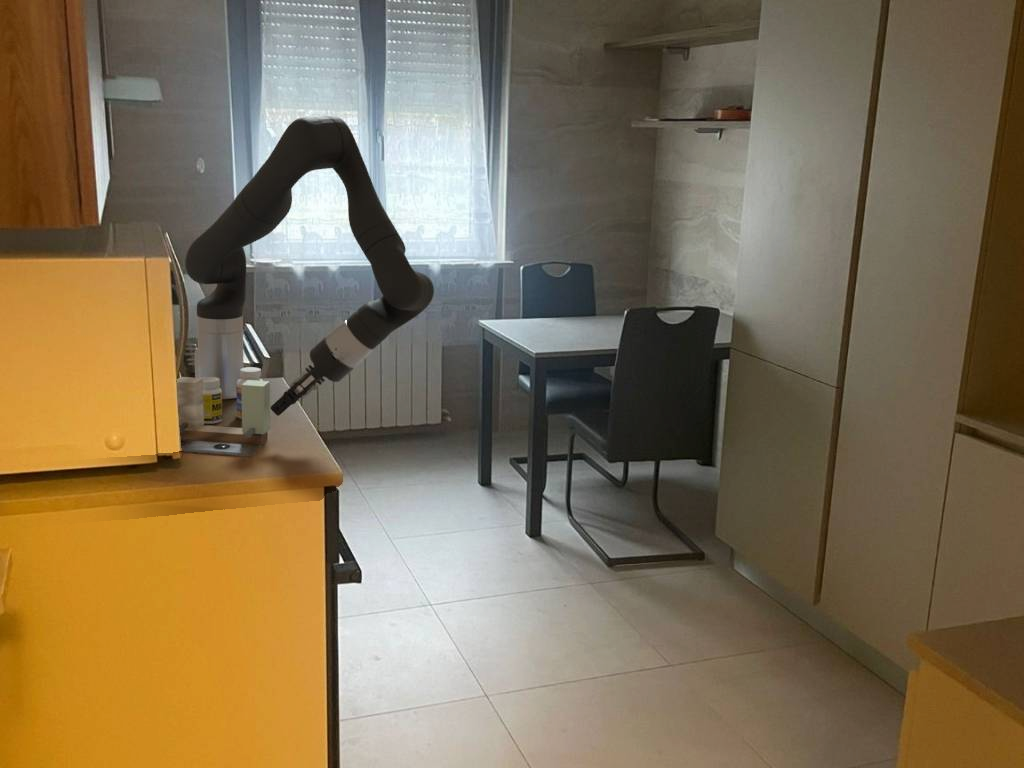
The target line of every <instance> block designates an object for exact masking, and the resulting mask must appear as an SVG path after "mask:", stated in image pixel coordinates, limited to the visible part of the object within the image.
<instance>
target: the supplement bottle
mask: <svg viewBox="0 0 1024 768" xmlns="http://www.w3.org/2000/svg"><path fill="white" fill-rule="evenodd" d="M219 386H220V379H219V378H216V377H203V410H204V425H205V424H206V425H213V424H218V423H221V422H222V421H223V399H222V390H221V388H219Z"/></svg>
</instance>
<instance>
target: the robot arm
mask: <svg viewBox="0 0 1024 768" xmlns="http://www.w3.org/2000/svg"><path fill="white" fill-rule="evenodd" d="M365 163H366V162H365V160H364V159H363V155H362V154H361V151H360V148H359V147H358V143H357V142H356V139H355V136H354V134H353V132H352V130H351V129H350V127H349V125H348V124H347V123H346V121H344V120H343V118H341V117H338V116H337V115H336V116H335V115H312V116H311V115H310V116H302V117H299V118H296V119H295V120H294V121H292V122H291V123H290V124H289V125H288V126H287V127H286V129H285V131H283V134H282V135H281V136H280V138H279V140H278V141H277V144H276V145H275V146H274V148H273V150H272V152H270V154H269V156H268V157H267V159H266V160H265V162H264V163H263V164H262V165H261V167H260V168H259V169H258V171H257V172H256V173H255V174H254V176H253V177H252V178H251V179H250V181H248V183H247V184H245V186H244V187H243V188H242V189H241V191H240V192H239V193H238V194H237V196H235V198H234V199H233V201H232V202H231V203H230V205H229V206H228V207H227V208H226V209H225V210H224V212H223V213H221V215H220V216H219V217H218V218H217V220H215V222H213V224H212V225H210V226H209V228H207V229H206V230H205V231H204V232H202V234H200V236H198V237H197V238H196V239H195V240H194V241H193V242H192V243H191V244H190V245H189V248H188V250H187V252H186V256H185V261H184V262H185V263H184V264H185V271H186V272H187V273H186V274H187V276H188V277H189V278H190V279H191V280H193V281H194V282H195V283H198V284H200V285H201V284H202V285H216V288H215V289H214V290H213V291H212V292H211V293H210V294H209V295H207V296H206V297H204V298H201V299H200V300H199V301H198V302H197V303H196V326H197V327H196V329H197V332H196V333H197V348H196V349H195V350H194V378H203V377H216V378H219V379H220V386H219V388H221V390H222V400H232V399H237V388H236V385H237V381H238V380H239V379H241V377H240V369H242V368H244V322H243V321H244V320H243V319H244V318H243V314H244V313H243V310H244V305H245V301H246V284H247V282H246V281H247V257H246V252H245V249H244V247H246V246H248V245H249V246H250V245H251V244H253V243H255V242H256V241H259V240H261V239H262V238H264V237H266V236H268V235H269V234H271V232H273V231H274V230H276V228H277V227H278V226H279V224H280V223H282V221H283V220H284V219H285V218H287V217H286V216H287V215H288V214H289V212H290V210H291V208H292V203H293V192H292V188H293V187H294V186H295V185H296V184H297V183H298V182H299V181H300V180H301V179H303V177H305V175H306V174H308V173H309V172H313V171H317V170H318V171H319V170H324V169H325V170H326V169H327V170H328V169H332V170H333V171H334V172H335V173H336V174H337V176H338V177H339V178H340V180H341V182H342V183H343V185H344V188H345V191H346V196H347V197H346V198H347V212H348V213H347V214H348V222H349V226H350V231H351V233H352V235H353V237H354V239H355V241H356V242H357V244H358V246H359V247H360V249H361V251H362V253H363V254H364V256H365V258H366V259H367V260H368V262H369V263H370V266H371V270H372V272H373V277H374V279H375V281H376V284H377V286H378V288H379V291H380V293H381V294H382V295H381V296H380V297H379V298H377V299H374V300H372V301H368V302H365V303H364V304H363V305H361V306H360V307H359V308H358V309H357V310H356V311H355V312H353V314H351V315H350V316H349V317H348V318H347V319H346V320H344V321H343V322H342V323H340V324H338V325H337V326H336V327H334V328H333V330H331V331H330V332H329V333H328V334H327V335H325V337H324V338H322V339H321V340H320V342H318V343H317V344H316V345H315V346H314V347H312V349H311V350H310V351H309V359H310V361H311V363H312V364H313V365H312V364H309V365H308V366H307V367H305V369H304V370H303V371H301V372H300V373H299V376H297V378H296V379H294V380H293V381H292V382H291V383H290V387H289V388H288V389H286V391H284V392H283V394H282V396H280V398H278V399H277V400H276V402H274V403H273V404H272V405H270V411H272V413H274V415H276V416H281V415H282V413H284V412H285V411H286V410H287V409H288V408H290V407H291V406H292V405H295V404H296V403H297V402H298V401H299V400H300V399H304V398H305V397H307V396H308V395H309V394H310V393H311V392H312V391H315V390H317V389H318V388H319V387H320V386H321V385H322V384H323V383H324V382H325V381H326V379H328V380H329V381H330V382H333V383H338V382H341V381H342V380H343V379H344V378H345V377H346V376H347V375H348V374H349V373H351V372H352V371H353V370H355V368H356V367H357V366H359V365H360V364H361V363H362V362H363V361H364V360H366V358H367V357H368V356H369V355H370V354H371V352H372V351H373V350H374V349H376V348H377V347H378V346H379V345H380V344H382V342H383V341H384V340H386V339H387V337H388V336H390V334H392V333H393V332H394V331H396V330H397V329H399V328H401V327H402V326H404V325H406V324H407V323H408V322H410V321H412V320H413V319H415V318H416V317H417V316H418V315H420V314H421V313H422V312H424V311H425V309H427V308H428V306H429V305H430V304H431V302H432V301H433V298H434V295H435V287H434V283H433V282H432V280H431V279H430V277H428V275H426V274H424V273H422V272H418V271H415V270H414V269H413V267H412V266H411V264H410V262H409V260H408V258H407V256H406V255H405V254H406V245H405V243H404V241H403V239H402V237H401V235H400V234H399V232H398V231H397V228H396V227H395V225H394V224H393V222H392V220H391V219H390V216H389V215H388V213H387V212H386V210H385V208H384V206H383V205H382V203H381V200H380V199H379V196H378V194H377V190H376V189H375V187H374V184H373V182H372V179H371V176H370V173H369V171H368V169H367V166H366V164H365ZM325 378H326V379H325Z"/></svg>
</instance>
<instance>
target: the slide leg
mask: <svg viewBox="0 0 1024 768" xmlns="http://www.w3.org/2000/svg"><path fill="white" fill-rule="evenodd" d="M270 383H271V382H270V381H268V380H263V381H256V380H247V381H246V382H245V383H243V384H242V385H241V386H242V419H241V428H242V433H244V434H245V438H249V437H250V436H252V435H253V434H265V433H266V432H267V433H268V431H269V430H270V429H271V388H270V387H271V386H270V385H271V384H270Z"/></svg>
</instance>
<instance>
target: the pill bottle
mask: <svg viewBox="0 0 1024 768" xmlns="http://www.w3.org/2000/svg"><path fill="white" fill-rule="evenodd" d="M240 377H241V379H239V380H238V381H237V385H236V388H237V398H236V417H237V418H238V419H240V420H242V386H241V385H242V384H243V383H245V382H246V381H247V380H256V381H264V380H263V379H262V378H261V377H262V369H261V368H259V367H253V366H249V367H247V366H246V367H243V368H242V369H240Z"/></svg>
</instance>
